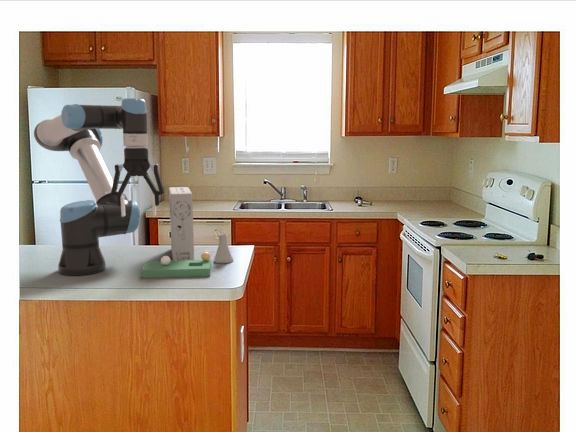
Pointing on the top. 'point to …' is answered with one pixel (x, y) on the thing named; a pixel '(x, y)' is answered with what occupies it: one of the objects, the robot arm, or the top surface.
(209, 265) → the green
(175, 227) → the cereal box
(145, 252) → the top surface
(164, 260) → the ball
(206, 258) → the orange ball
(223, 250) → the flask
